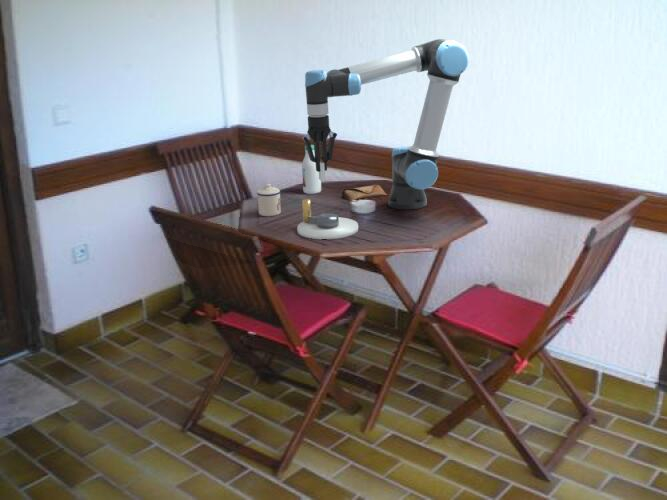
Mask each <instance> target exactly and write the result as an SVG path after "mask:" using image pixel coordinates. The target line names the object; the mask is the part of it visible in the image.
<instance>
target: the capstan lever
mask: <svg viewBox="0 0 667 500" xmlns="http://www.w3.org/2000/svg"><path fill="white" fill-rule="evenodd" d="M301 201H302V202H301V203H302V204H301V205H302V219H303V220H302V222H309V223H315V224H317V226H318V227H321V228H332V227H336V226H338V225H339V214H336V213H328V212H327V213H320V214H317V215H316V216H315V215H312V205H311V203H312V202H311V199H309V198H303V199H302V200H301Z"/></svg>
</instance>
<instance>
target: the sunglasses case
mask: <svg viewBox="0 0 667 500" xmlns="http://www.w3.org/2000/svg"><path fill="white" fill-rule="evenodd" d="M341 193H342V194H341V195H342V196H341V197H342V198H343V197H344V198H343V199H345V198H346V199H345V200H347V199H349V200H348V201H350V200H351V201H350V202H353V201H352V200H357V201H360V200H359V199H362V200H366V199H365V198H368V199H371V198H370V197H374V198H378V197H377V196H380V197H384V196H383V195H387V196H388V193H386V192H385V191H384V189H383V188H382V187H381V185H380V183H376V184H371V185H367V186H360V187H354V188H353V187H352V188H347V189H346V188H345V189H344V190H343V191H342V192H341Z"/></svg>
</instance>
